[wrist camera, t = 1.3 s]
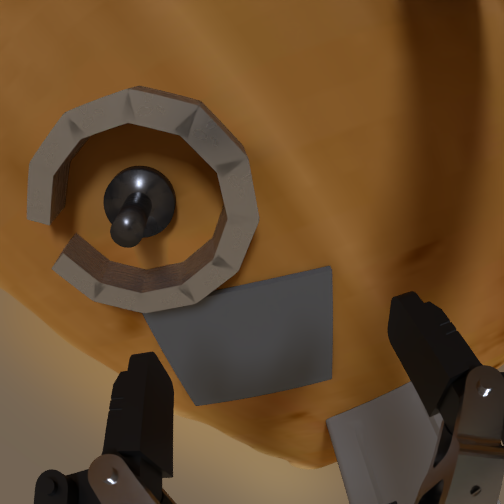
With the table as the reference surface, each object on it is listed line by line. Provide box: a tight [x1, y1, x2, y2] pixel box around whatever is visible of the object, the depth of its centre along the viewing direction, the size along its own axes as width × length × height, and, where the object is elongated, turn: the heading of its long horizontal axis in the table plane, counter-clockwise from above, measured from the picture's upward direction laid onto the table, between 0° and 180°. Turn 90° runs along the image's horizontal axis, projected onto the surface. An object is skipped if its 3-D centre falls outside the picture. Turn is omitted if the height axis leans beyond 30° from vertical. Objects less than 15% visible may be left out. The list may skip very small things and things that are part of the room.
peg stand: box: [104, 166, 176, 248], centre depth 20 cm, size 5×5×5 cm
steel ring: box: [27, 86, 259, 313], centre depth 21 cm, size 16×16×3 cm
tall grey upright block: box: [326, 382, 501, 504], centre depth 35 cm, size 19×15×28 cm
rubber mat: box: [142, 266, 333, 406], centre depth 32 cm, size 17×17×1 cm
